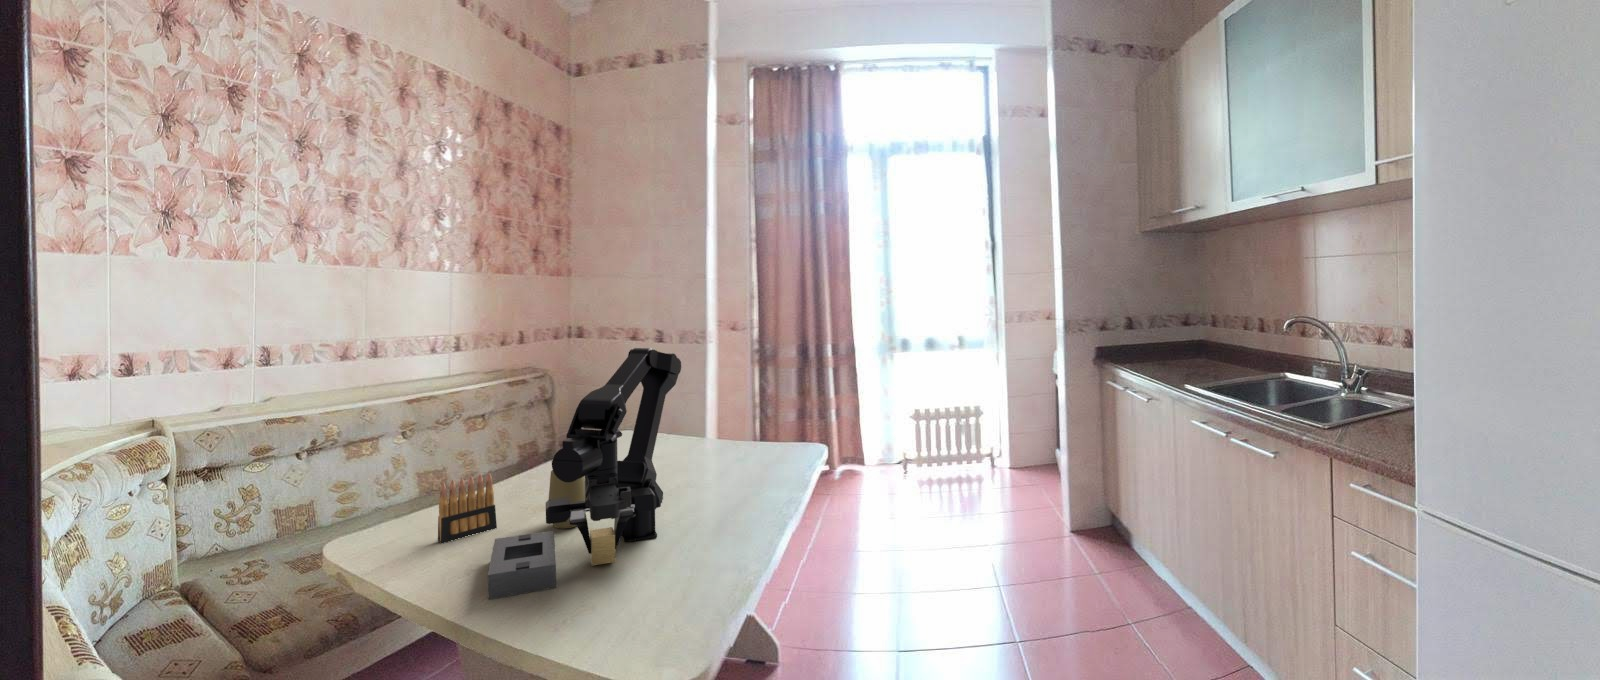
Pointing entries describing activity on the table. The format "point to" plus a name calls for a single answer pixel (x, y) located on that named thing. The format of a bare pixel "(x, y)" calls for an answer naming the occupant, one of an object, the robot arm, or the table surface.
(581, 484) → the squeeze bottle
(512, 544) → the grey socket block
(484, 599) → the table surface
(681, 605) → the table surface
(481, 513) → the ammunition clip
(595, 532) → the tan wooden block
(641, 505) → the robot arm
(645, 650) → the table surface
